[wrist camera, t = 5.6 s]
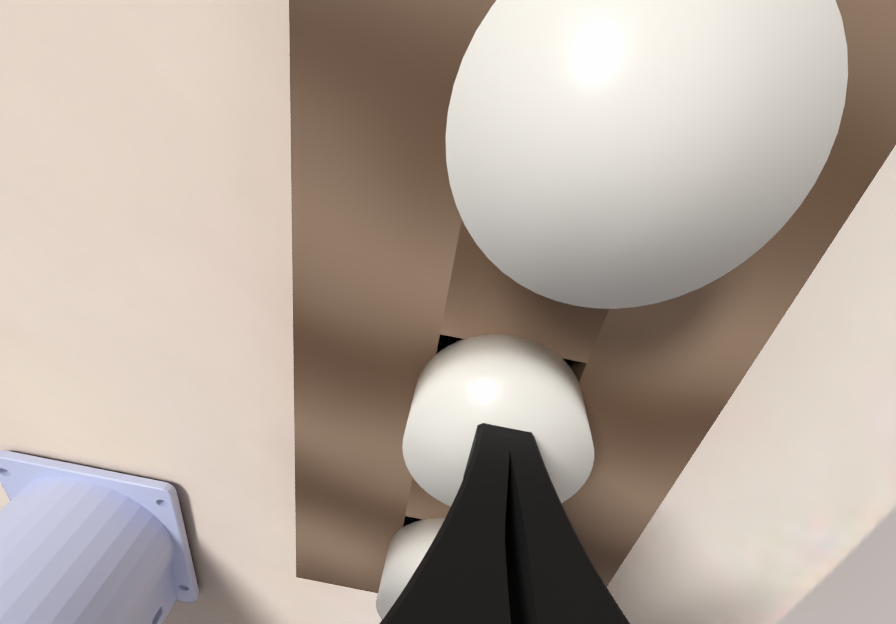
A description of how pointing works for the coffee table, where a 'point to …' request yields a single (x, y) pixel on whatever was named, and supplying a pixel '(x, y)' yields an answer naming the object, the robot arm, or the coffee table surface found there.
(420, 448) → the knob middle
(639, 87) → the knob near
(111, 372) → the coffee table surface
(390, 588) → the knob far
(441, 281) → the brown wooden board
